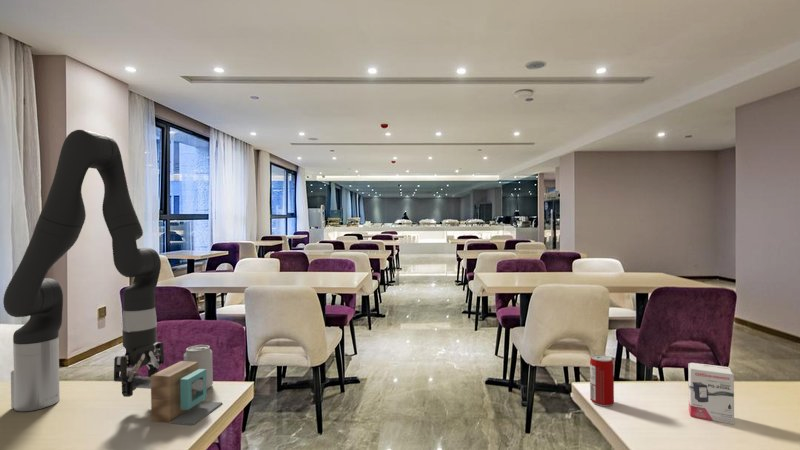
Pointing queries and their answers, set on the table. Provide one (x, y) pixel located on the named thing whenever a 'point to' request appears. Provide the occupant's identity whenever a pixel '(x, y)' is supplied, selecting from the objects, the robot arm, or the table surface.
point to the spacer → (186, 389)
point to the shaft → (146, 383)
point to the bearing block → (169, 391)
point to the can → (201, 360)
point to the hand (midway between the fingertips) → (140, 389)
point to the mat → (196, 413)
